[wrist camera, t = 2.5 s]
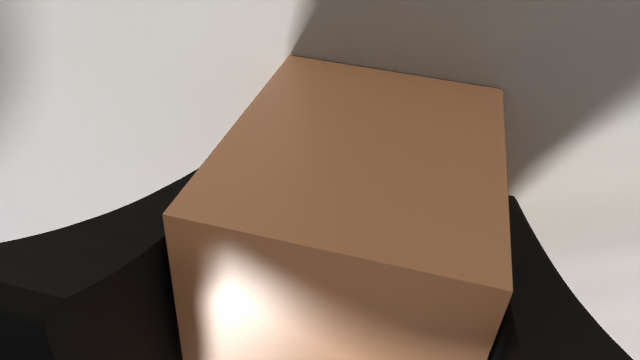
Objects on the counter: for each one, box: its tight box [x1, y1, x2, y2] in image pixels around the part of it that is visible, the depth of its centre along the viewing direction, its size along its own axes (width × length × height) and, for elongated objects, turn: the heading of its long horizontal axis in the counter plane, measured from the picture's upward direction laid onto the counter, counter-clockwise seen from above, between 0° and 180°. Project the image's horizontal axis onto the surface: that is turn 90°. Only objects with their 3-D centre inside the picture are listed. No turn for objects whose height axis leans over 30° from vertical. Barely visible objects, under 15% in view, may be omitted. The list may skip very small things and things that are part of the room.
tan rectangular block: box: [162, 55, 513, 360], centre depth 12 cm, size 5×5×7 cm
